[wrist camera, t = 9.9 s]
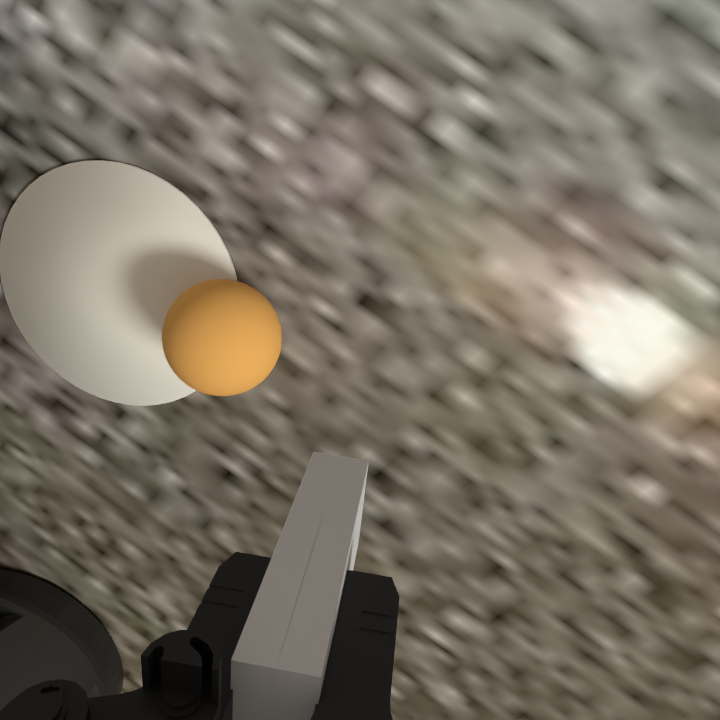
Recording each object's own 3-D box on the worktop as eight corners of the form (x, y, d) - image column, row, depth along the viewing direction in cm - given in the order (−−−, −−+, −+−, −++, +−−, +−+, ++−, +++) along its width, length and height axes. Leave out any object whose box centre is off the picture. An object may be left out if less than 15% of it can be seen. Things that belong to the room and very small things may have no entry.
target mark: (118, 441, 34) (117, 443, 34) (-46, 257, 31) (-49, 258, 30) (290, 327, 30) (289, 328, 29) (120, 101, 27) (117, 101, 26)
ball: (250, 435, 27) (237, 377, 32) (315, 341, 26) (291, 295, 30) (138, 390, 24) (140, 334, 29) (204, 283, 23) (196, 242, 28)
